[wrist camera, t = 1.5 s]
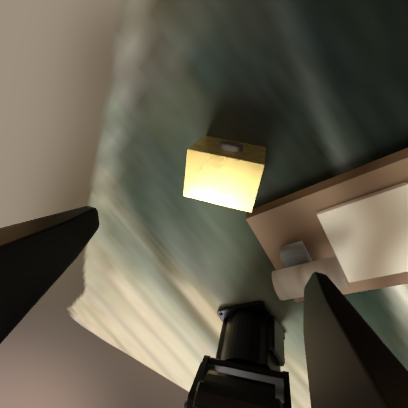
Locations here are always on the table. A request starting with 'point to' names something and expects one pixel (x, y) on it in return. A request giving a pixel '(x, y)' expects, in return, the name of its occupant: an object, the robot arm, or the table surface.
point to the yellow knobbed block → (224, 172)
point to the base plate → (340, 230)
